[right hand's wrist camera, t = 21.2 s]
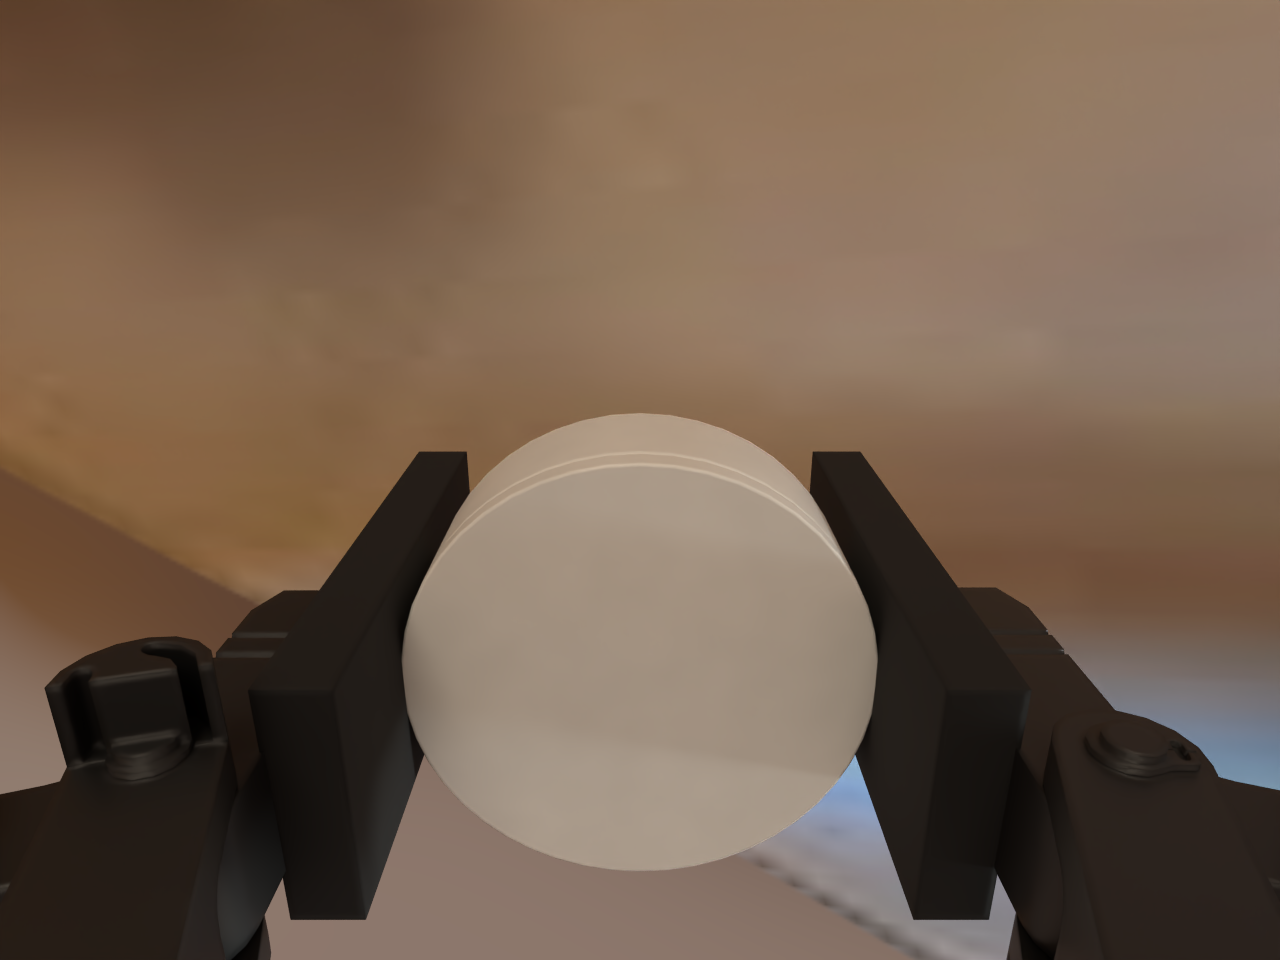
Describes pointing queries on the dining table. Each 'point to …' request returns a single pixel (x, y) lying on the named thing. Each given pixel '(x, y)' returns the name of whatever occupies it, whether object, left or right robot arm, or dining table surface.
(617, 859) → the white cylinder with groove
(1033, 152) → the dining table surface
